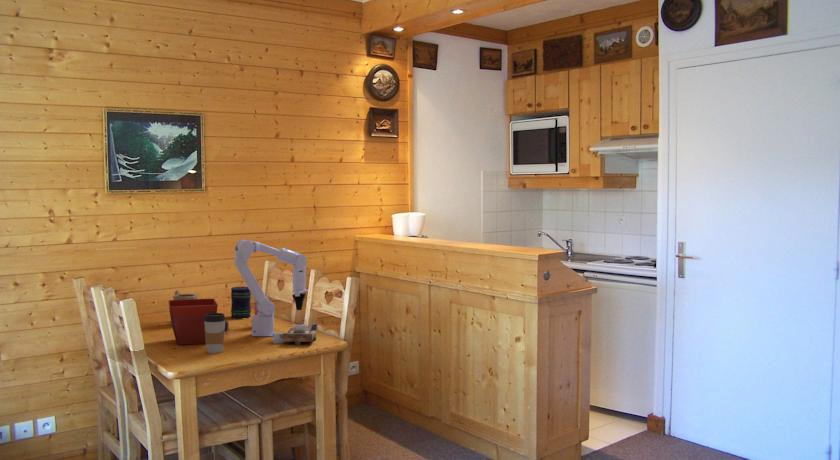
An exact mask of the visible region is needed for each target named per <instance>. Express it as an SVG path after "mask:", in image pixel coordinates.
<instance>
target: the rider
mask: <svg viewBox="0 0 840 460" xmlns="http://www.w3.org/2000/svg"><path fill="white" fill-rule="evenodd" d="M293 328H294V333H305V328H306V324H295V325H294V326H293Z"/></svg>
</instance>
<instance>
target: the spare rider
mask: <svg viewBox="0 0 840 460" xmlns="http://www.w3.org/2000/svg"><path fill="white" fill-rule="evenodd" d="M283 333H284V332H283V331H278V332H277V331H274V332H273V336H272V343H273V344H284V343H285V341H283Z"/></svg>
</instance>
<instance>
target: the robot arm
mask: <svg viewBox="0 0 840 460" xmlns="http://www.w3.org/2000/svg"><path fill="white" fill-rule="evenodd" d="M259 252H262V253H265V254H269V255H271V256H275V257H276V258H277V260H278V261H281V262H284V263H287V264H289V265H292V293H293V294H292V298H293V300H294V303H295V309H296V311H302V310H303V306H304V305H303V304H304V300H305V297H306V295H307V294H306V293H307V292H309V289H307V287H306V286H307V282H306V280H307V279H306V274H307V273H306V272H307V271H306V269H307V267H306V266H307V264H308V259H307V257H306V255H304V254H302V253H300V252H298V251H293V250H290V249H289V248H288V247H281V248H279V249H278V248H275V247H272V246H269V245H267V244H264V243H262V242H259V241H254V240H247V239H240V240H238V241H237V242H236V245H235V247H234V260H233V261H234V266H235V267H236V270H237V271H238V273H239V274H240V276H241V278H242V279H243V281H244V283H245V285H246V287H248V288H249V290H250V293H251V296H252V297H253V299H254V301H255V302H256V305H257V309H258V311H259V312H258V314H257V315H255V314H254V315H252V318H251V337H273V332H275V330H274V329H275V324H274V323H275V318H274V317H275V316H274V315H275V313H274V312H275V311H276V306H275V304H274V303H273V302H272V301H270V299H269V298H268V297H267V295H266V294H265V293H264V291H263V289H262V287H261V285H260V284H259V282H258V280H257V279H256V277H255V275H254V274H253V272H252V269H251V268H250V266H249V265H248V261H249V259H250V257H251V256H252V255H253V253H259ZM305 292H306V293H305ZM255 302H254V303H255Z"/></svg>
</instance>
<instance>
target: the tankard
mask: <svg viewBox="0 0 840 460" xmlns="http://www.w3.org/2000/svg"><path fill="white" fill-rule="evenodd" d="M172 296H173V297H172V298H173V299H172V300H186V299H198V295H197V294H195V293H180V291H179V290H178V289H175V292H174V295H172ZM169 325H171V326H172V323H171V320H170V322H169Z"/></svg>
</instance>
